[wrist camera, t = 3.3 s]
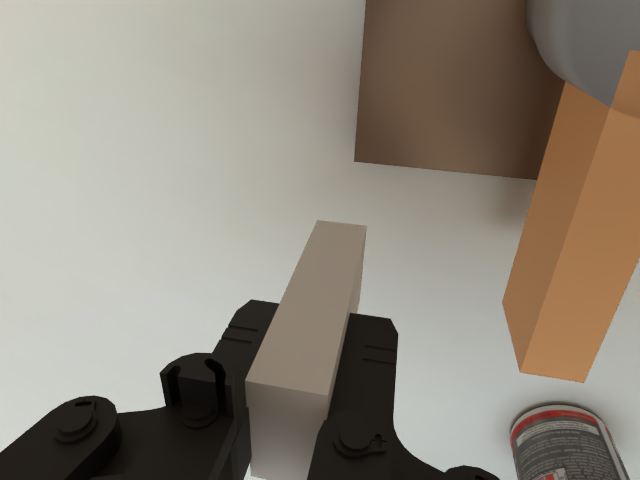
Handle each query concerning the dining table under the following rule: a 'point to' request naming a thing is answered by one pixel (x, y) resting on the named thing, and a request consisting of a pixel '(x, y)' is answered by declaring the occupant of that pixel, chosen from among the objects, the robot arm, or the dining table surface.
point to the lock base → (455, 87)
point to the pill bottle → (564, 446)
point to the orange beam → (580, 190)
